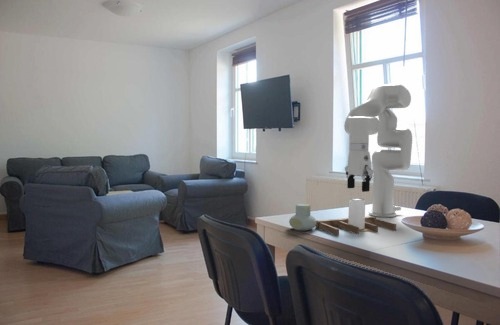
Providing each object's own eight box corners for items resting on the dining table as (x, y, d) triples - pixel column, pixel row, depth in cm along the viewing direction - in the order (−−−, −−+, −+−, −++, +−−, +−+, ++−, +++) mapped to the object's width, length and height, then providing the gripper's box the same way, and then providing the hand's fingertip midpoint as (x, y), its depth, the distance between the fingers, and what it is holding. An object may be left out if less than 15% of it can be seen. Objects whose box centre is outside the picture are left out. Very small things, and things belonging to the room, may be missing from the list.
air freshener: (319, 230, 162) (320, 205, 162) (306, 233, 157) (306, 207, 156) (299, 225, 170) (299, 202, 170) (285, 228, 165) (286, 204, 164)
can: (364, 227, 167) (365, 198, 166) (364, 230, 161) (365, 200, 160) (348, 226, 169) (349, 197, 168) (347, 229, 163) (348, 199, 162)
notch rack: (373, 223, 177) (373, 216, 177) (397, 230, 163) (397, 223, 163) (315, 227, 167) (315, 220, 167) (335, 235, 153) (335, 228, 153)
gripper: (380, 148, 156) (379, 192, 157) (353, 146, 172) (353, 186, 174) (364, 148, 153) (363, 193, 155) (338, 146, 169) (338, 187, 171)
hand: (358, 189), depth 164 cm, fingers open, 9 cm apart
